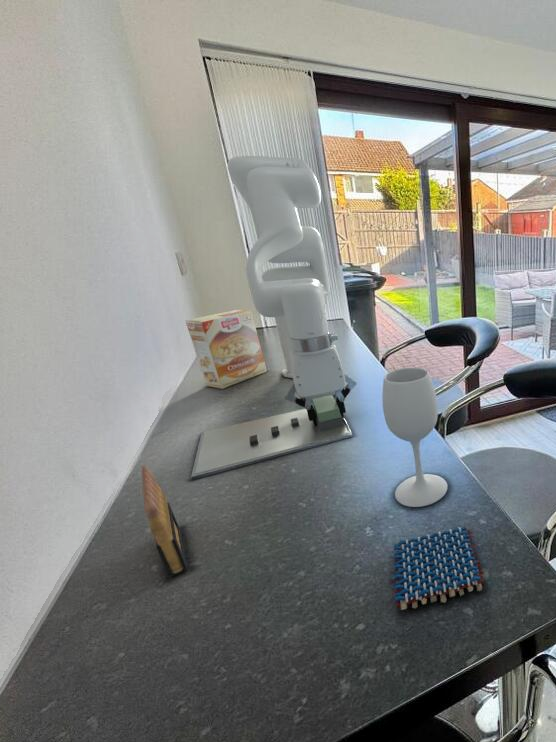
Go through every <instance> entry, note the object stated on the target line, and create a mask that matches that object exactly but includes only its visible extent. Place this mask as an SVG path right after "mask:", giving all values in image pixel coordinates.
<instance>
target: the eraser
mask: <svg viewBox="0 0 556 742" xmlns="http://www.w3.org/2000/svg"><path fill="white" fill-rule="evenodd" d="M312 405H313V407H314V411H315V415H316V420H317V424H318V427H319V430H320V431H322V430H326V429H330V428H334V427H338V426H342V425H344V422H343V418H342V416H341V414H340V411H339V408H338V406H337V404H336V399H335V398H334V396H332V395H329V396H324V397H320V398H315V399H312Z"/></svg>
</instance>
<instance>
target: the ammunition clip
mask: <svg viewBox="0 0 556 742" xmlns="http://www.w3.org/2000/svg"><path fill="white" fill-rule="evenodd" d="M141 481H142V493H143V505H144V506H143V507H144V511H145V514H146V516H147V520H148V522H149V527H150V532H151V533H152V536H153V538H154V540H155V544H156V545H155V546H156V549H157V552H158V553H159V556H160V559H161V560H162V563H163V565H164V567H165V569H166V572H167V574H168V576H169V578H173V577H175V576H177V575H179V574H181V573H183V572H186V571H188V570H189V569H188V563H187V559H186V553H185V548H184V547H185V546H184V544H183V537H182V532H181V529H180V526H179V523H178V521H177V519H176V517H175V514H174V512H173V508H172V506H171V505H170V504H171V503H170V502H168V501H167V498H166V497H165V494H164V492H163V489H162V488H161V487H160V486H159V483H158V482H157V481H156V478H155V476H154V475H153V473H152V471H151V470H150V469H148V467H146V466H145V465H143V466H142V467H141Z"/></svg>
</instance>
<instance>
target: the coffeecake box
mask: <svg viewBox="0 0 556 742" xmlns="http://www.w3.org/2000/svg"><path fill="white" fill-rule="evenodd" d="M185 324H186V327H187V330H188V333H189V336H190V340H191V343H192V347H193V348H194V352H195V356H196V358H197V360H198V364H199V367H200V371H201V373H202V376H203V380H204V383H205V386H206V387H209V388H215V389H221V390H222V389H225V388H228V387H230V386H233V385H236V384H238V383H241V382H243V381H247V380H249V379H252V378H255V377H256V376H258V375H261V374H265V373H267V372H268V370H267V367H266V362H265V358H264V356H263V351H262V347H261V343H260V340H259V336H258V331H257V328H256V324H255V320H254V316H253V312H252V310H243V309H233V310H229V311H224V312H220V313H219V312H218V313H215V314H210V315H205V316H200V317H196V318H192V319H186V320H185Z"/></svg>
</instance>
